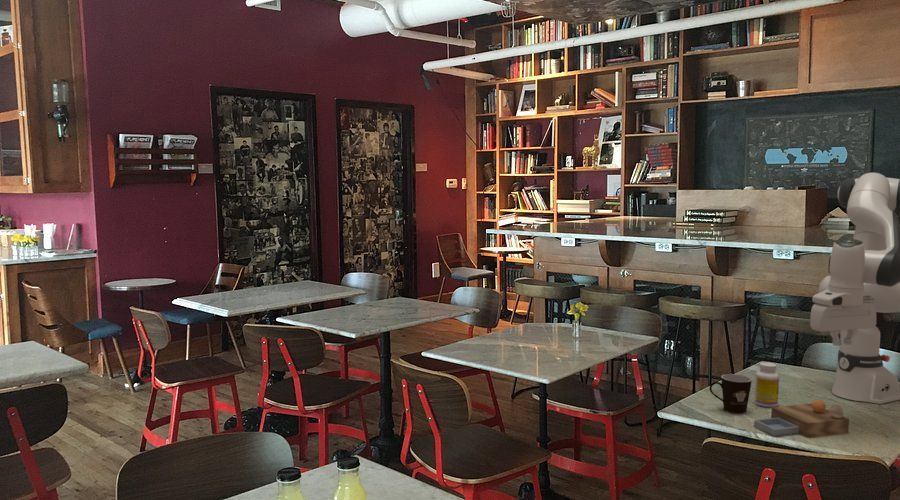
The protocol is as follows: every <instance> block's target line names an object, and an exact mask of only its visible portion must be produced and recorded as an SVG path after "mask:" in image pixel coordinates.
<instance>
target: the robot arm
mask: <svg viewBox="0 0 900 500" xmlns="http://www.w3.org/2000/svg"><path fill="white" fill-rule="evenodd" d="M837 199H838V202H839V205H840V206H841V207H842V208H843V209H846V215H847V217H848V218H847V219H848V220H849V221H850V223H852V224H853V225H854V226H855V230H854V232H853V233H854V234H853V238H841V239H838V240H836V241H834V242H833V245H832V249H831V254H830V256H829V257H828V271H827V272H828V273H829V275H827V276H824V278H822V280H821V281H820V283H819V286H818V293H816V294H813V296H812V302H813V303H814V304H813V305H812V306H811V309H810V310H811V311H810V316H809V317H810V320H809V325H810V327H811V329H812V330H813V331H818V332H821V333H822V332H829V335H830V336H831V338H832V345H833V346H840V347H839V350H838V352H837V363H838V364H837V367H836V374H835V378H834V383H833V384H832V386H831V387H832V390H831V393H832V394H833V395H835V396H837V397H839V398H843V399H845V400H846V399H847V400H851V401H857V402H867V403H872V404H878V405H883V404H886V403H890V402H895V401H900V382H899V379H898V377H897V376H896V375H895V374H893V373H892V372H891V371H890V370H889V369H887V367H885V366H884V363H883V362H886V363H889V362H890V359H891V357H890V356H889V355H886V354H882V355H881V354H880V347H881V331H880V329H879V328H878V326H876V325H877V313H883V314H886V313H887V314H889V313H892V314H893V313H900V219H899V217H900V178H894V177H886V176H885V175H883V174H882V173H880V172H866V173H864V174H862V175H861V176H860V177H858V178H856V177H850V178H846V179H844V180H842V182H841V183H840V185H839V186H838V189H837ZM839 336H840V337H839Z"/></svg>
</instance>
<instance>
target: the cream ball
mask: <svg viewBox="0 0 900 500" xmlns="http://www.w3.org/2000/svg"><path fill="white" fill-rule="evenodd" d="M828 410H829V412H830V415H831V416H832V417H834V418H841V417H842V416H844V415H845V410H844V408H843V407H842V406H840V405H838V404H834V405H831V407H830V408H829V409H828Z"/></svg>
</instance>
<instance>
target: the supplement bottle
mask: <svg viewBox="0 0 900 500" xmlns="http://www.w3.org/2000/svg"><path fill="white" fill-rule="evenodd" d="M759 369H760V370H758V371H756V373H755V385H754V404H755V405H757V406H760V407H763V408H772V407H778V404H779V403H778V402H779V387H780V385H779V384H780V375H779V374H778V373H777V372H776V370H777V365H776V364H775V363H772V362H765V361H764V362H760V363H759Z"/></svg>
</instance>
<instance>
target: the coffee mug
mask: <svg viewBox="0 0 900 500" xmlns="http://www.w3.org/2000/svg"><path fill="white" fill-rule="evenodd" d="M720 378H721V382H719V381H713V382H712V383H710V385H709V391H710V393H711V394H712V395H713V396H714V397H715V398H717V399H719V400H720V401H721V402H722V403H723V406H722V407H723V410H724V411H725V412H726V413H731V414H737V415H739V414H745V413H747V409H748V404H749V397H750V392H751V387H752V381H753V379H752V378H751V377H750V376H746V375H743V374H738V373H737V374H736V373H729V374H728V373H727V374H722V375H721V377H720ZM714 385H719V386H720V387H721V390H722V397H720V396H718V395H717V394H715V393H714V391H713V389H712V388H713V386H714Z"/></svg>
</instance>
